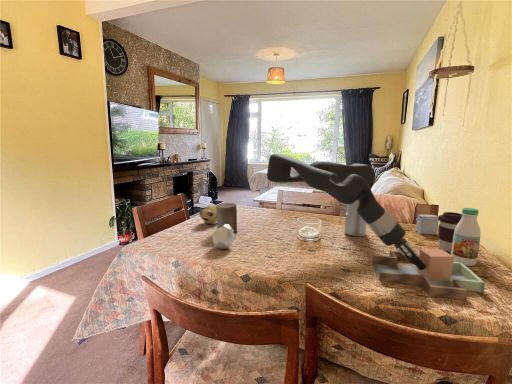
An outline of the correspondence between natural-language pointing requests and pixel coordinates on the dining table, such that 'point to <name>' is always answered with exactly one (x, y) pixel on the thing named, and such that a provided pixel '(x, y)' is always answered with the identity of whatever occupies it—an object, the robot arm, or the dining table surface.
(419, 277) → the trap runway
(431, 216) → the medicine box
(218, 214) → the pillar candle
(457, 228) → the milk bottle
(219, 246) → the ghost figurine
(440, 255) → the terracotta block
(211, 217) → the toy pig
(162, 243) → the dining table surface
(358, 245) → the dining table surface
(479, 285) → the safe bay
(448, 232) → the coffee cup
